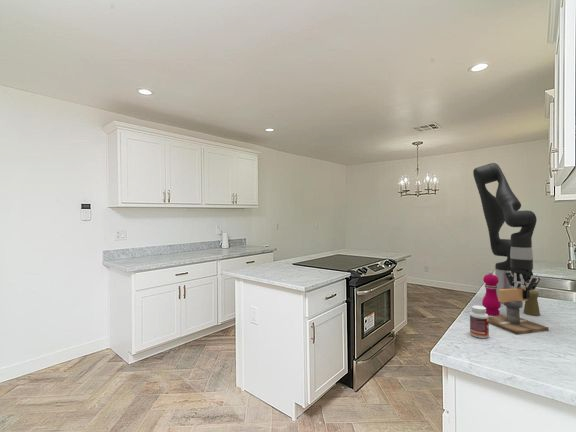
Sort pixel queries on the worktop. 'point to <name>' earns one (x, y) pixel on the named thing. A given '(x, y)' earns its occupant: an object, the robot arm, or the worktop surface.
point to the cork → (532, 304)
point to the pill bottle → (479, 322)
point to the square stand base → (515, 323)
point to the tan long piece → (511, 297)
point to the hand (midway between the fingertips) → (522, 298)
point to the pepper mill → (491, 295)
